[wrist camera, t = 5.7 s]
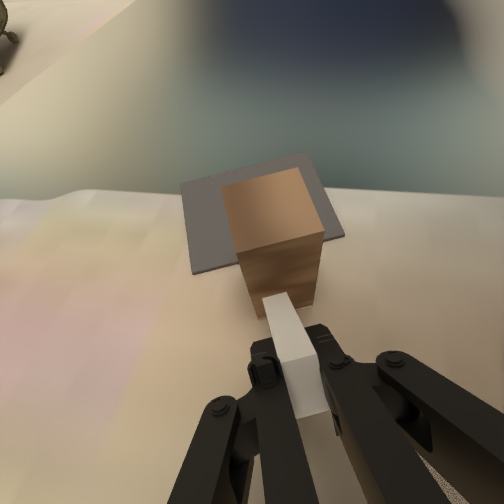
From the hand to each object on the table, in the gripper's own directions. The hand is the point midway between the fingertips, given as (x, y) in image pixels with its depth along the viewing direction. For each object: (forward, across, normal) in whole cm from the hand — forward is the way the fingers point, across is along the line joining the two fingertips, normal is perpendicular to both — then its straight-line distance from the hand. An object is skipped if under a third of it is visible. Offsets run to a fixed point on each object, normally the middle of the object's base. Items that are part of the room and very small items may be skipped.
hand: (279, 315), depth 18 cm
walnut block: (+7, +1, -1) cm, 7 cm away
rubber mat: (+13, +1, +5) cm, 14 cm away
